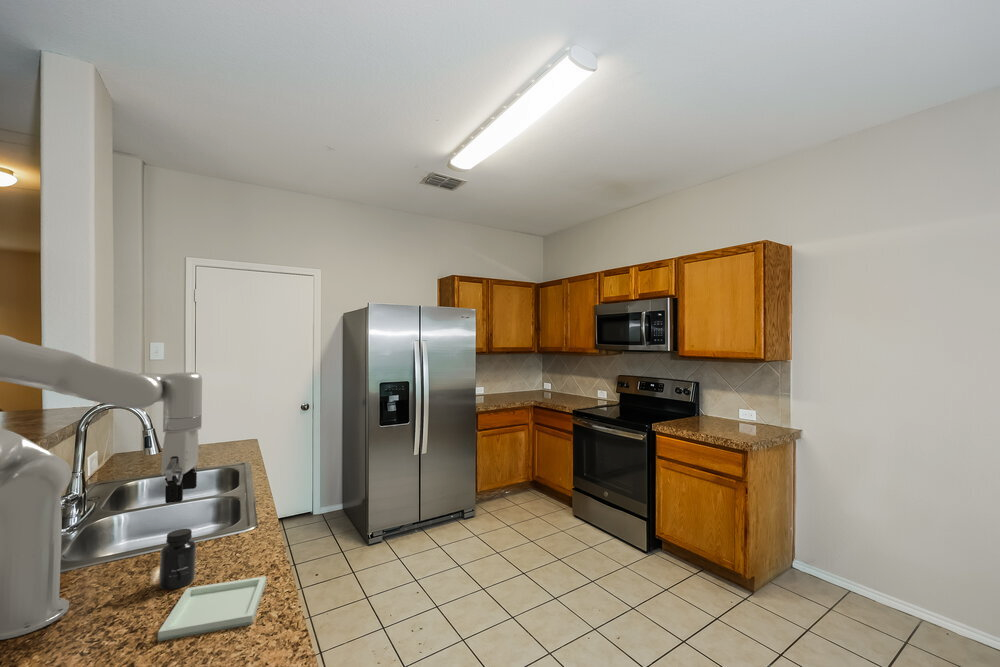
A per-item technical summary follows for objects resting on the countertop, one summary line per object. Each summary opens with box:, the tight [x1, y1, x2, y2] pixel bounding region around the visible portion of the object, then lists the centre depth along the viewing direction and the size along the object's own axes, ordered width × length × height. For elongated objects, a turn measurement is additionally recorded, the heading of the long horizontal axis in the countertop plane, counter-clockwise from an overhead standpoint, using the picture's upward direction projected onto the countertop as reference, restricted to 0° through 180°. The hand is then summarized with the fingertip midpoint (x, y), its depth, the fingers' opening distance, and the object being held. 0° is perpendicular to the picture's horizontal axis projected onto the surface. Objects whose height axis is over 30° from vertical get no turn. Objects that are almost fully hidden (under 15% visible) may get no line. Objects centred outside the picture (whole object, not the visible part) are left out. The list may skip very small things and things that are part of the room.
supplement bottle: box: [158, 528, 197, 591], centre depth 104 cm, size 7×7×12 cm
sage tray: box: [157, 575, 267, 642], centre depth 93 cm, size 16×16×2 cm
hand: (181, 495), depth 104 cm, fingers open, 9 cm apart
